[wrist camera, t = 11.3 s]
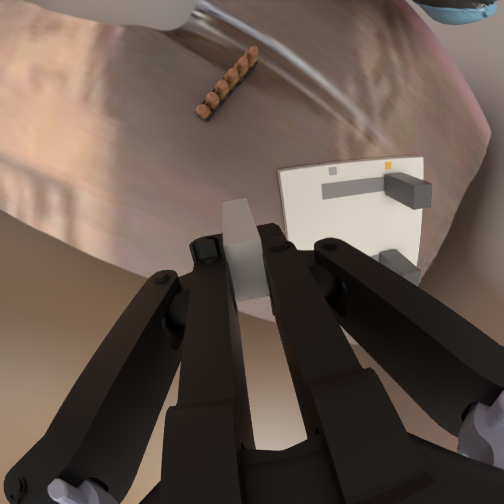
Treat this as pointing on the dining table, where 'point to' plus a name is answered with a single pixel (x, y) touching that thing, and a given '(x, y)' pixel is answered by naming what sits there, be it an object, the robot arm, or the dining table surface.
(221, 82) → the ammunition clip
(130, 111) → the dining table surface
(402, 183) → the block
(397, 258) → the block
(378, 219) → the switch panel
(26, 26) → the dining table surface
